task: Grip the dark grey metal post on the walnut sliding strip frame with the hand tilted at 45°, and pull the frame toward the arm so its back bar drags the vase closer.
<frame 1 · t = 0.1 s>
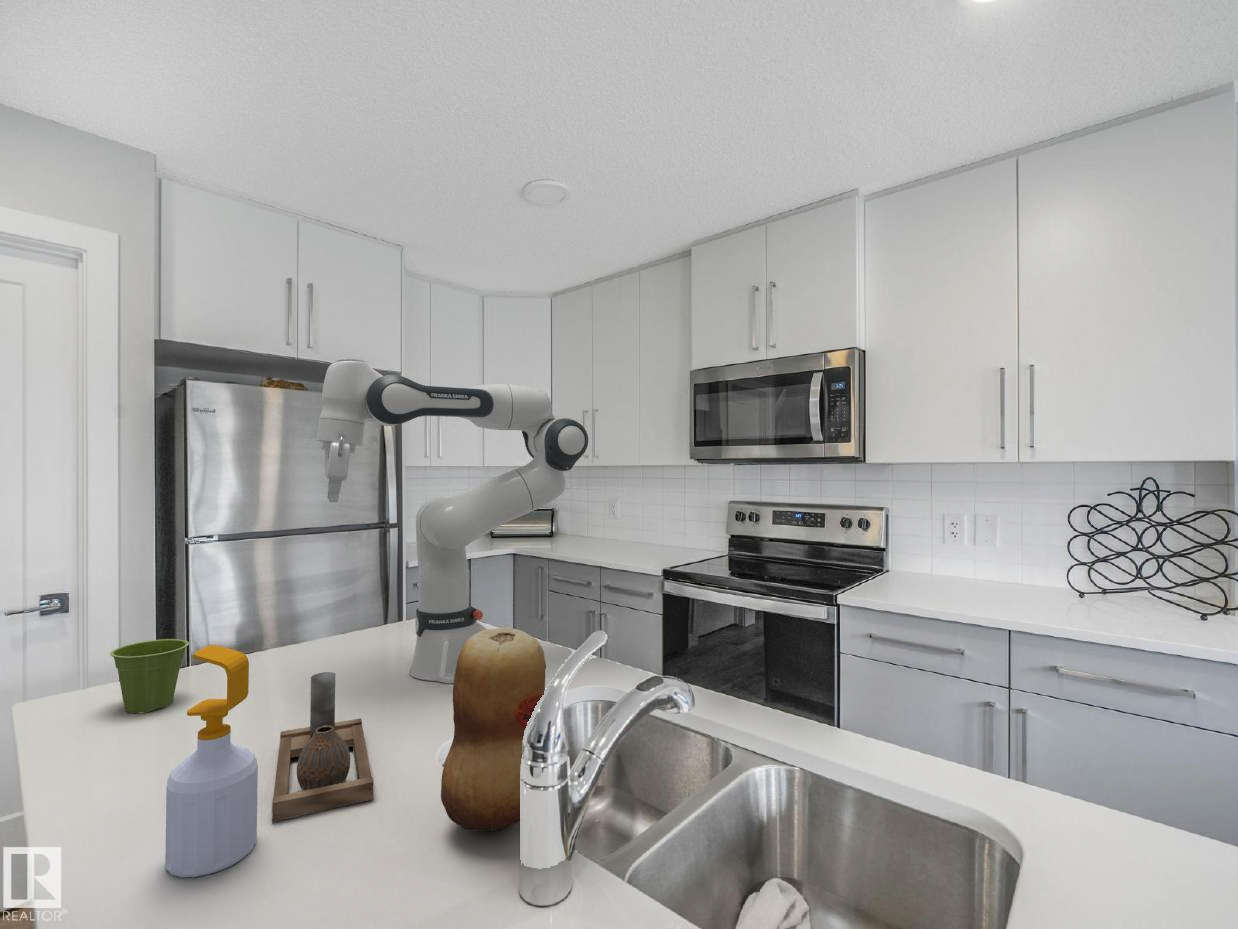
hand: (332, 500, 126), 39 cm above the countertop, tool pointing down, fingers open, 8 cm apart
vase: (323, 791, 86), resting in strip frame
soap bottle: (212, 855, 72), on the countertop
butternut squash: (495, 824, 79), on the countertop
plant pot: (149, 707, 114), on the countertop
strip frame: (323, 731, 91), point 6 cm above the countertop, slide at 0.0 cm
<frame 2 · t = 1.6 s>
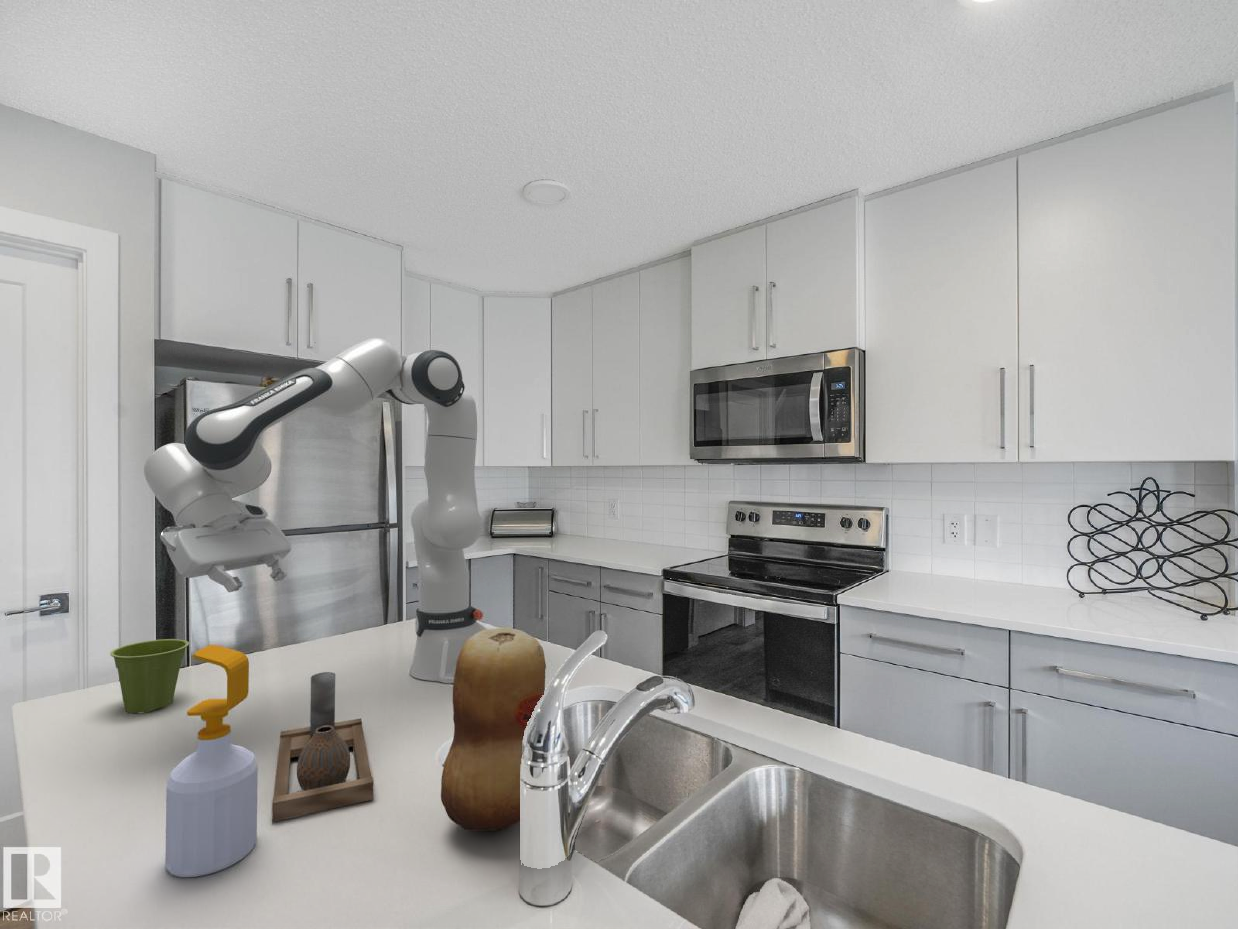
hand: (260, 583, 101), 26 cm above the countertop, tool tilted 45°, fingers open, 8 cm apart
nothing on the countertop moved.
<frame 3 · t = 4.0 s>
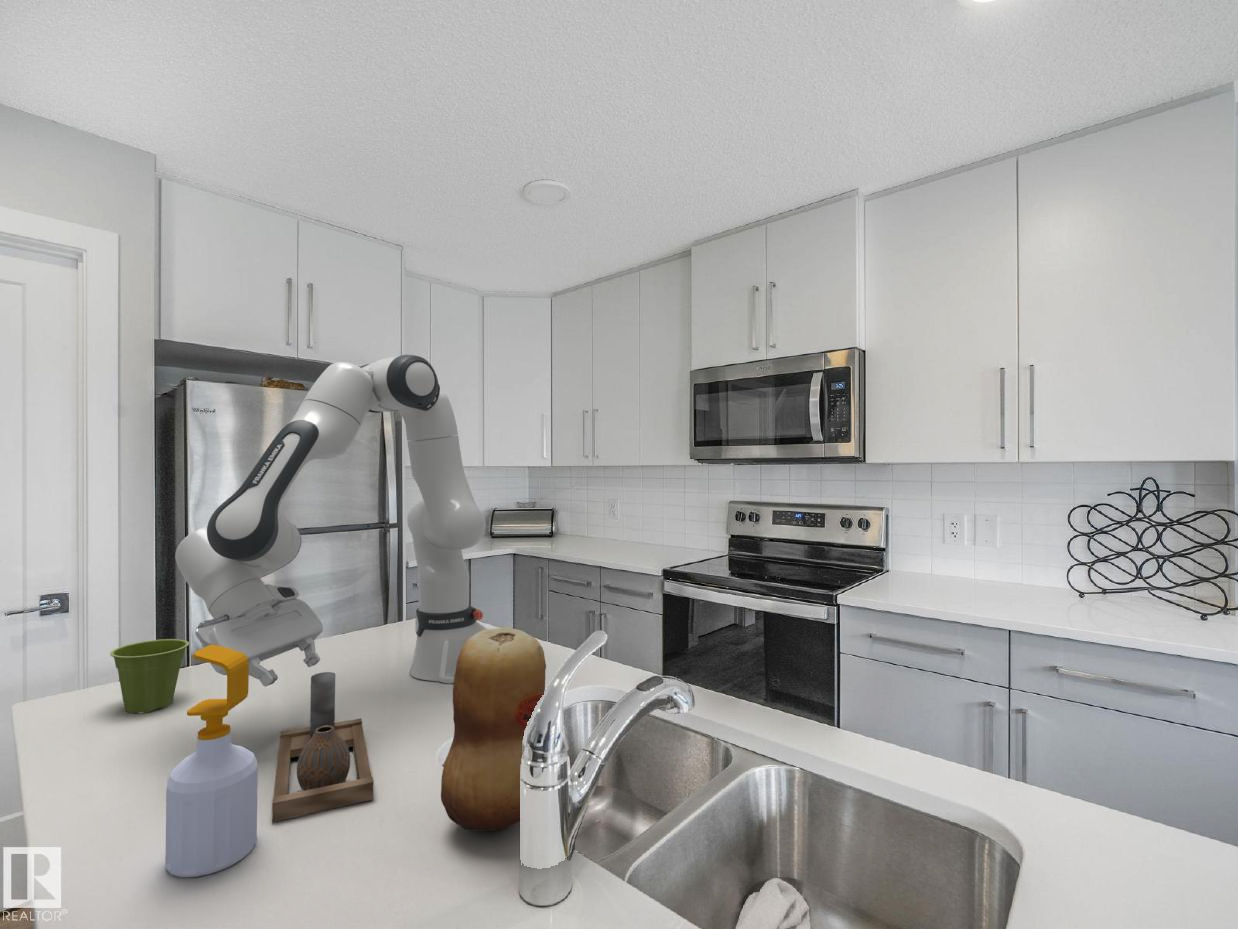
hand: (294, 673, 99), 12 cm above the countertop, tool tilted 45°, fingers open, 8 cm apart
nothing on the countertop moved.
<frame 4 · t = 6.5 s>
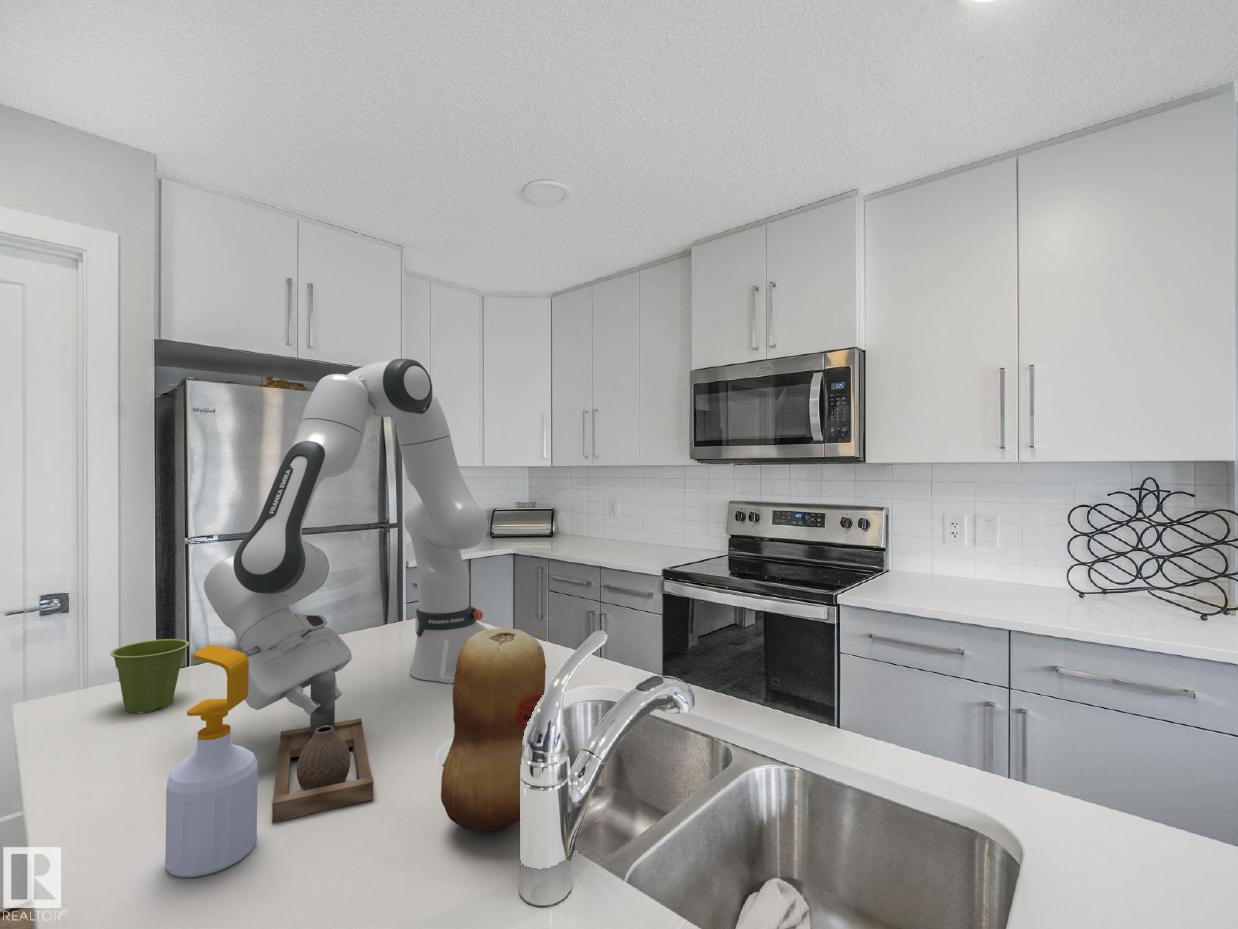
hand: (326, 704, 98), 7 cm above the countertop, tool tilted 45°, fingers closed on strip frame, 4 cm apart
strip frame: (323, 731, 91), point 6 cm above the countertop, slide at 0.0 cm, touching gripper
everything else where it was.
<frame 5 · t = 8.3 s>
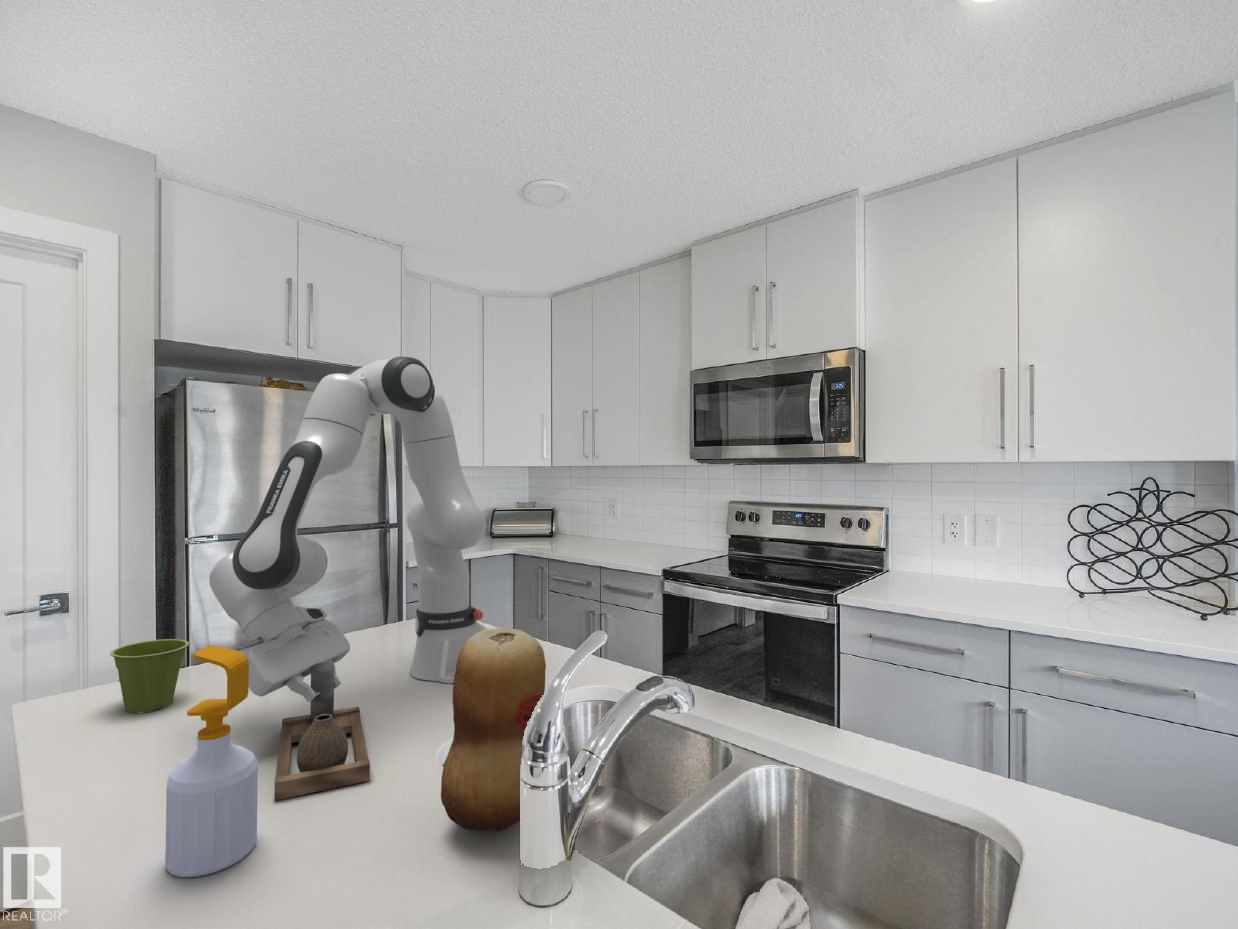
hand: (325, 692, 103), 7 cm above the countertop, tool tilted 45°, fingers open, 4 cm apart
vase: (322, 776, 90), resting in strip frame
strip frame: (322, 717, 96), point 6 cm above the countertop, slide at 5.5 cm, touching gripper, vase
everything else where it was.
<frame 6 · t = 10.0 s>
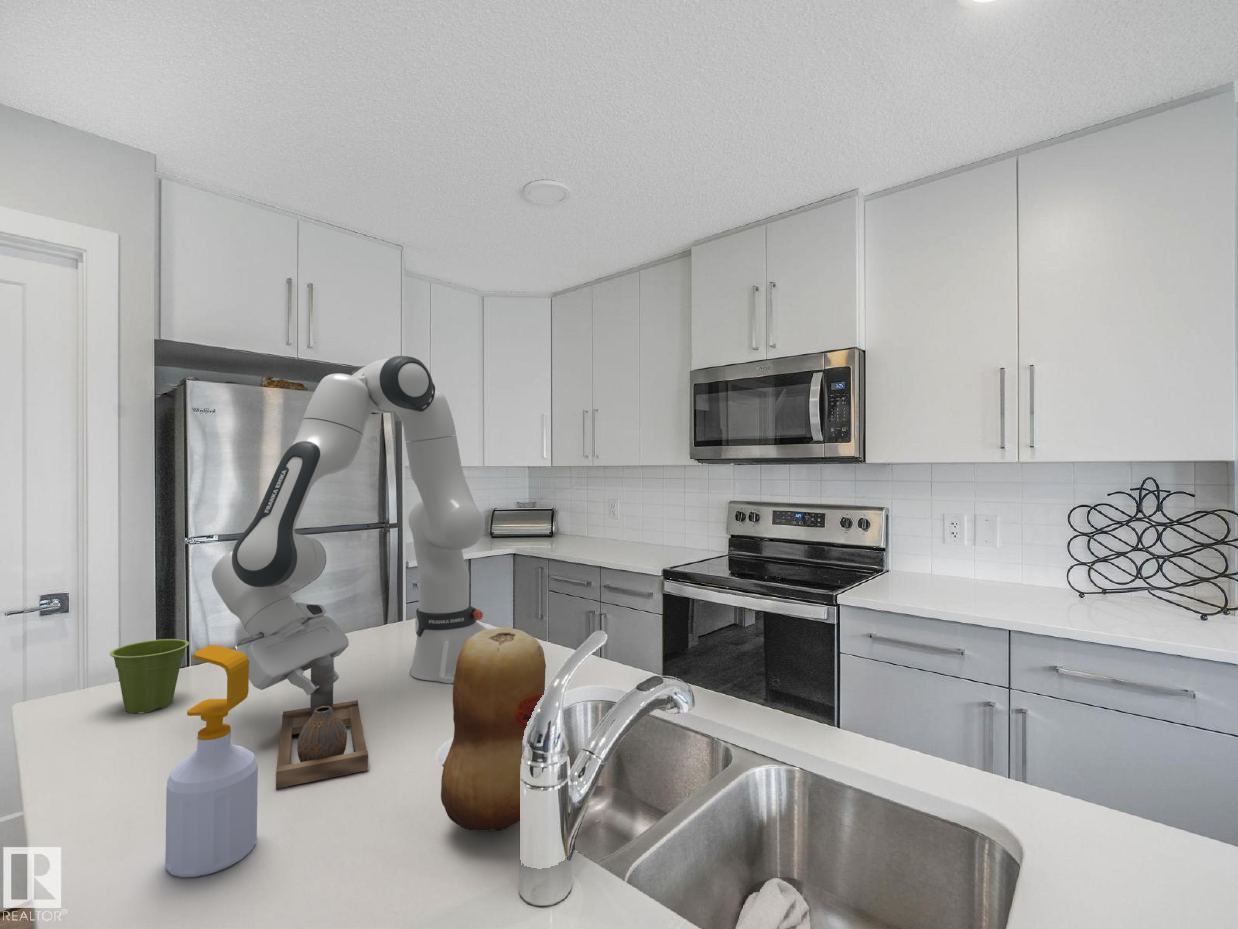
hand: (324, 686, 106), 7 cm above the countertop, tool tilted 45°, fingers closed on strip frame, 4 cm apart
vase: (322, 766, 93), resting in strip frame
strip frame: (322, 710, 99), point 6 cm above the countertop, slide at 8.8 cm, touching gripper, vase
everything else where it was.
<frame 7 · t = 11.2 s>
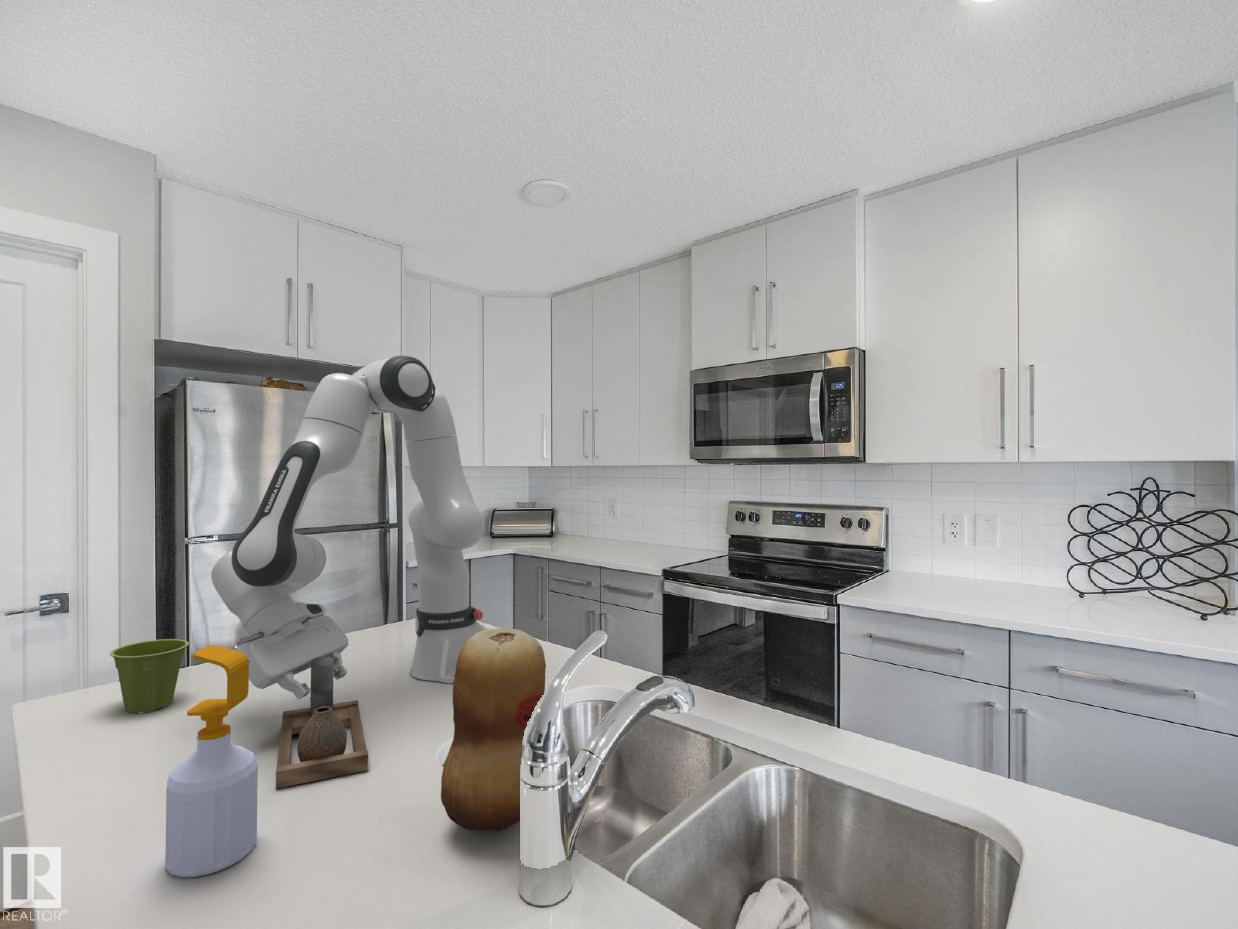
hand: (324, 685, 106), 7 cm above the countertop, tool tilted 45°, fingers open, 8 cm apart
vase: (322, 767, 93), resting in strip frame
strip frame: (322, 710, 99), point 6 cm above the countertop, slide at 8.9 cm
everything else where it was.
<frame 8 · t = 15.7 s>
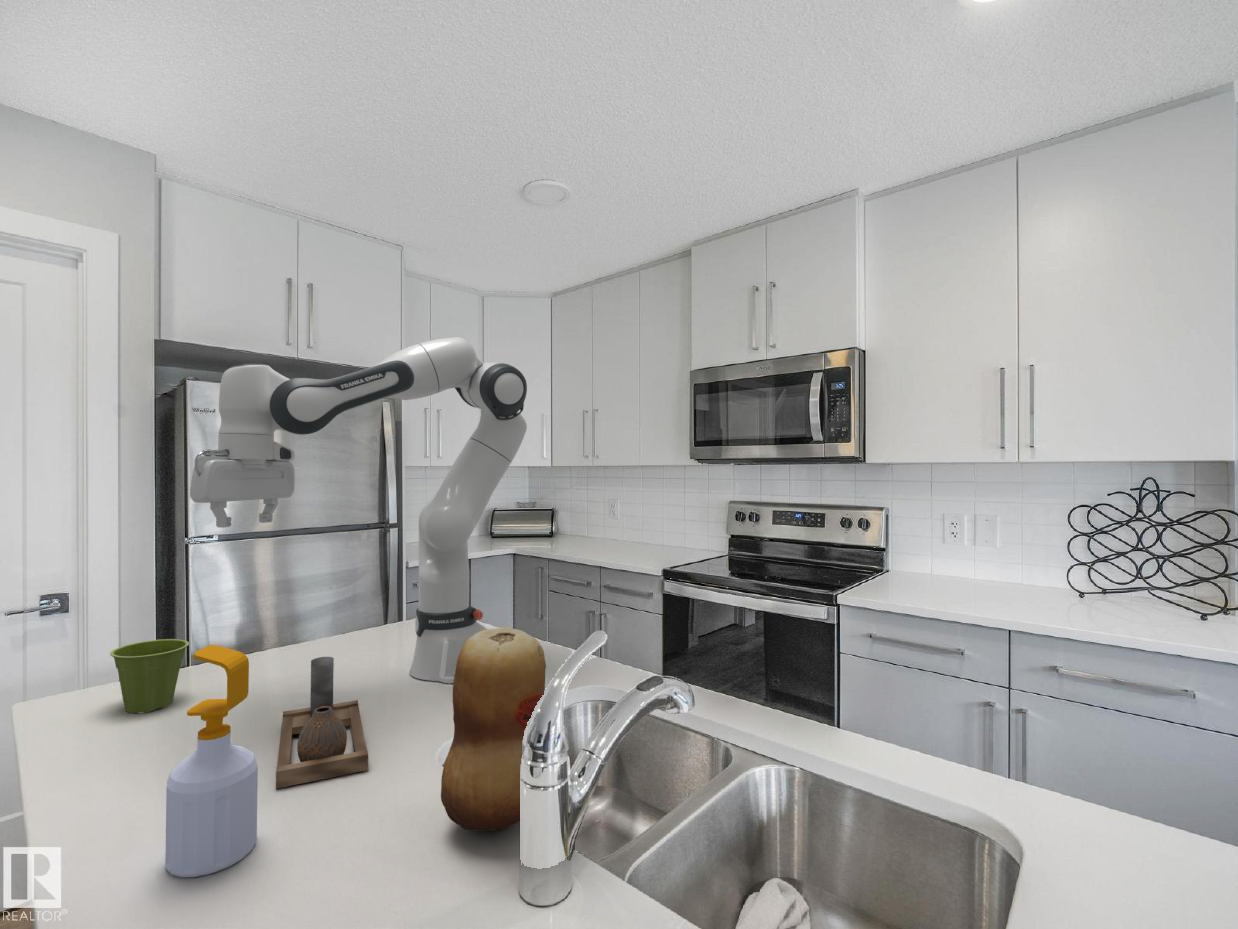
hand: (245, 524, 112), 35 cm above the countertop, tool pointing down, fingers open, 8 cm apart
nothing on the countertop moved.
at the end: vase inside the target area (1.3 cm from its centre), resting in strip frame; vase tilted 0°; strip frame slide at 8.9 cm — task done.
